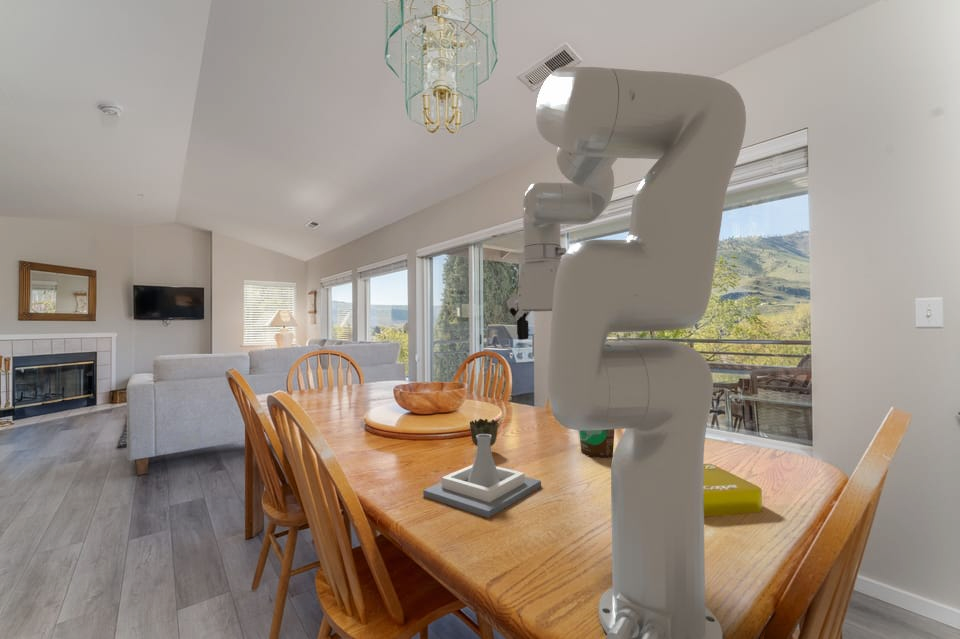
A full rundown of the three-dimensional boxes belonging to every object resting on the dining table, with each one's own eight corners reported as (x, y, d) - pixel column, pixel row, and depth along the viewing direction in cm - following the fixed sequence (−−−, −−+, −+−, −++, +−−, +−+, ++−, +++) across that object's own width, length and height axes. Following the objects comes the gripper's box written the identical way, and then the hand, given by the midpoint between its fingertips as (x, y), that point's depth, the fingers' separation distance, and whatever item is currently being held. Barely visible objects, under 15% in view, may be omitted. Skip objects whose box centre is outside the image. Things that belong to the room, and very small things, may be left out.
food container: (566, 449, 115) (566, 411, 115) (585, 446, 118) (584, 409, 118) (597, 462, 104) (596, 420, 104) (617, 458, 107) (616, 418, 107)
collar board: (488, 518, 75) (488, 499, 75) (423, 496, 85) (423, 479, 85) (541, 486, 89) (540, 470, 89) (480, 470, 99) (479, 456, 99)
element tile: (689, 520, 74) (688, 492, 74) (644, 487, 89) (644, 464, 89) (767, 514, 76) (767, 487, 76) (711, 483, 91) (711, 460, 91)
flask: (499, 493, 83) (498, 441, 83) (462, 491, 84) (461, 439, 84) (505, 480, 90) (504, 431, 90) (471, 478, 91) (470, 430, 91)
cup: (464, 454, 112) (464, 423, 112) (478, 446, 118) (477, 417, 119) (490, 458, 108) (490, 426, 109) (503, 450, 115) (502, 420, 115)
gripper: (589, 254, 87) (590, 339, 86) (516, 262, 97) (517, 338, 97) (572, 249, 81) (573, 341, 81) (497, 258, 91) (498, 339, 91)
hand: (543, 339), depth 89 cm, fingers open, 9 cm apart
